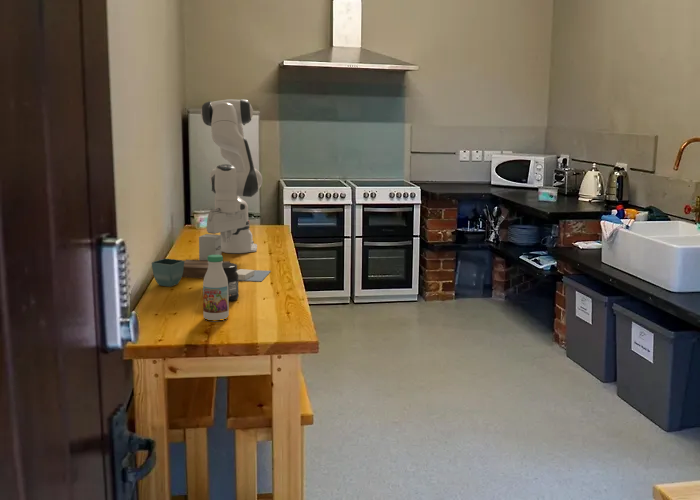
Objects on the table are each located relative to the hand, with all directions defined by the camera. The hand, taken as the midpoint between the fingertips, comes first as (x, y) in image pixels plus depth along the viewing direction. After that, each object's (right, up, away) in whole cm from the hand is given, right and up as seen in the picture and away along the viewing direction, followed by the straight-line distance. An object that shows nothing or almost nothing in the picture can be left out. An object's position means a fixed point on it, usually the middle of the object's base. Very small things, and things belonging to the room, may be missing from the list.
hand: (227, 241), depth 270 cm
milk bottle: (+7, -25, -57) cm, 62 cm away
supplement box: (-10, -10, +20) cm, 24 cm away
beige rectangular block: (+7, -12, -2) cm, 14 cm away
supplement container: (+5, -20, -34) cm, 40 cm away
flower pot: (-19, -17, -16) cm, 30 cm away
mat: (+8, -14, +1) cm, 16 cm away
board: (-10, -13, +3) cm, 16 cm away
